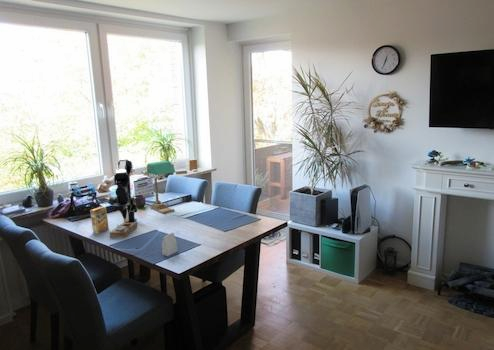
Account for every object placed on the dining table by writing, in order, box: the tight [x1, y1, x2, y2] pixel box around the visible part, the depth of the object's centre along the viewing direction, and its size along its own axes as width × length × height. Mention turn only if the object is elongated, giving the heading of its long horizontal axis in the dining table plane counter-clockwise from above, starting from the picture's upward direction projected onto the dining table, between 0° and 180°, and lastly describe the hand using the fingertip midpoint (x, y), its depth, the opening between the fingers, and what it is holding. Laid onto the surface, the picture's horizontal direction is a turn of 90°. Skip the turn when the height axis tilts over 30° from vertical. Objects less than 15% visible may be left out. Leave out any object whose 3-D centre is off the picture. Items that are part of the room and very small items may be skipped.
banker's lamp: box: [146, 160, 176, 215], centre depth 276 cm, size 16×21×35 cm
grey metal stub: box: [116, 223, 123, 231], centre depth 227 cm, size 3×3×6 cm
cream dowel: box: [122, 206, 129, 223], centre depth 235 cm, size 3×3×9 cm
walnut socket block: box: [109, 222, 138, 239], centre depth 232 cm, size 18×9×4 cm, turn 174°
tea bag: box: [161, 232, 178, 257], centre depth 199 cm, size 4×7×10 cm, turn 146°
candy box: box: [89, 205, 110, 234], centre depth 236 cm, size 9×4×15 cm, turn 150°
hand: (125, 217), depth 235 cm, fingers closed on cream dowel, 3 cm apart
